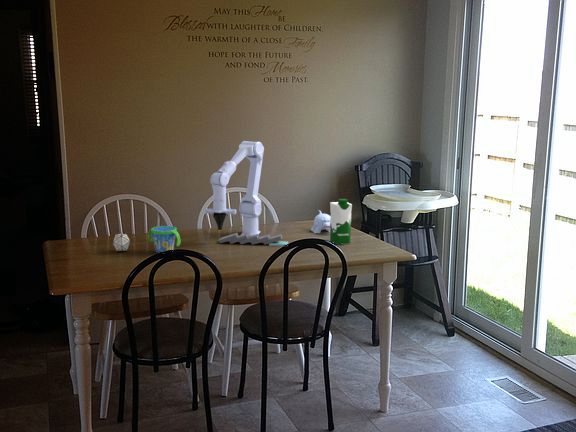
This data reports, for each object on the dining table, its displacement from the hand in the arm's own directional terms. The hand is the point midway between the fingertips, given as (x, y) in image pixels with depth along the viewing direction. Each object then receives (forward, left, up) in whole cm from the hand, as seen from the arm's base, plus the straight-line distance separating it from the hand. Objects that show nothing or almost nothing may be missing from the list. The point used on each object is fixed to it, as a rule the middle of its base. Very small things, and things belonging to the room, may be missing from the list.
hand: (220, 229), depth 281 cm
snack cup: (+20, -20, -6) cm, 29 cm away
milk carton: (-8, +53, -6) cm, 54 cm away
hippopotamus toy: (-29, +45, -6) cm, 54 cm away
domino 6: (0, +23, -6) cm, 23 cm away
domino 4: (0, +15, -5) cm, 15 cm away
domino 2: (0, +5, -5) cm, 7 cm away
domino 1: (0, 0, -5) cm, 5 cm away
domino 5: (0, +20, -5) cm, 21 cm away
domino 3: (0, +9, -5) cm, 11 cm away
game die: (+22, -38, -6) cm, 44 cm away
